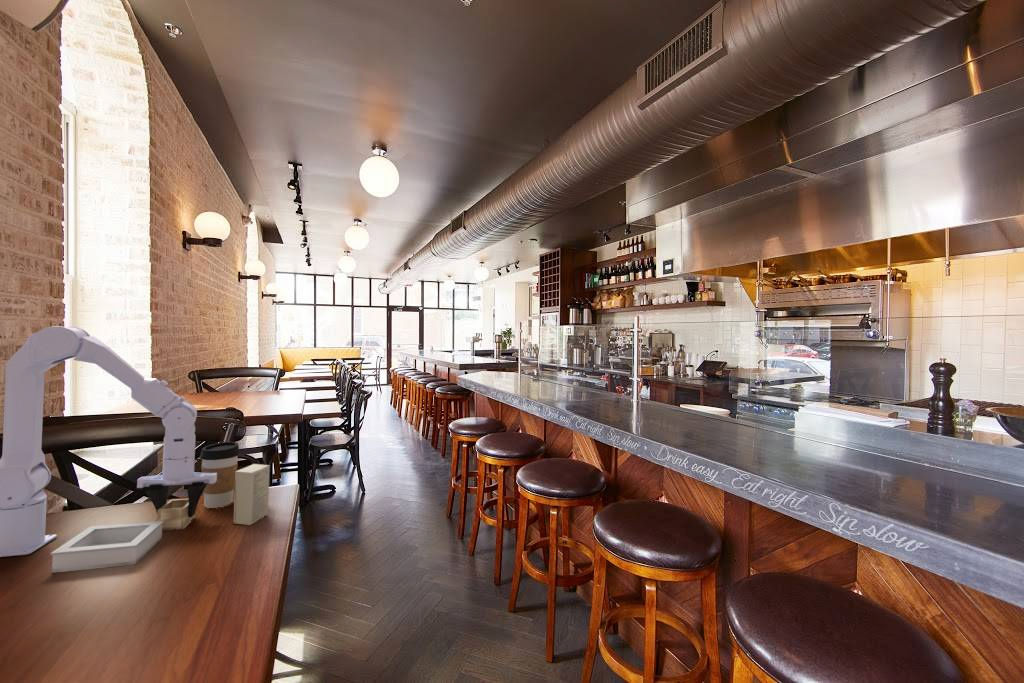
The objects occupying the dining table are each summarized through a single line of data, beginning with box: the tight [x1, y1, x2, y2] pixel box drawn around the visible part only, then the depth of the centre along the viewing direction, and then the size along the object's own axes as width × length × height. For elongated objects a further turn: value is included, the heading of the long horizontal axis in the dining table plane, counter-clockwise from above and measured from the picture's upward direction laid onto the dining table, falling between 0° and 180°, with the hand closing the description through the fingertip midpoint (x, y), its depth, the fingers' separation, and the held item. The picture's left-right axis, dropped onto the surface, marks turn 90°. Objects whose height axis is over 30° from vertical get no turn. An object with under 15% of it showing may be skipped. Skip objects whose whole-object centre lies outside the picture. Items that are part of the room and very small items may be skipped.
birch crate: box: [156, 498, 196, 532], centre depth 98 cm, size 5×6×4 cm
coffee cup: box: [199, 441, 241, 509], centre depth 111 cm, size 8×8×15 cm
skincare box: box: [232, 463, 271, 526], centre depth 102 cm, size 6×4×12 cm
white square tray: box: [50, 520, 164, 574], centre depth 84 cm, size 12×11×4 cm
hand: (177, 516), depth 98 cm, fingers closed on birch crate, 5 cm apart
